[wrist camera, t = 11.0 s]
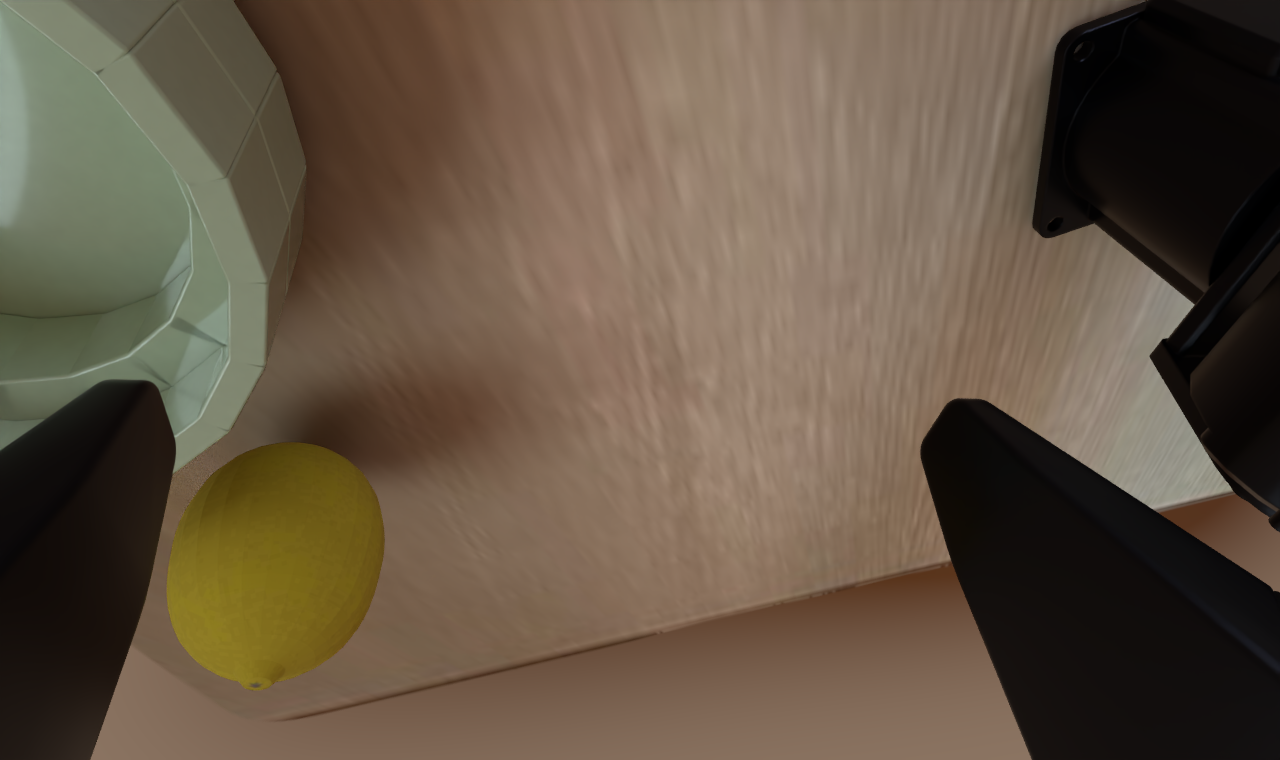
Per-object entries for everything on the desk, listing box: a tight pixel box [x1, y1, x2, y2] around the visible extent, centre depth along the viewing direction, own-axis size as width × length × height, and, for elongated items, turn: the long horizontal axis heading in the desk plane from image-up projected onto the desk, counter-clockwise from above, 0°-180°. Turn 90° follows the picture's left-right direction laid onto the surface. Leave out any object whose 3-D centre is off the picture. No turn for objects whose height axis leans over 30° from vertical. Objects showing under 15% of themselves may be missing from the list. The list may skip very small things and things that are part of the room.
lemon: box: [167, 442, 385, 690], centre depth 21 cm, size 6×6×8 cm
